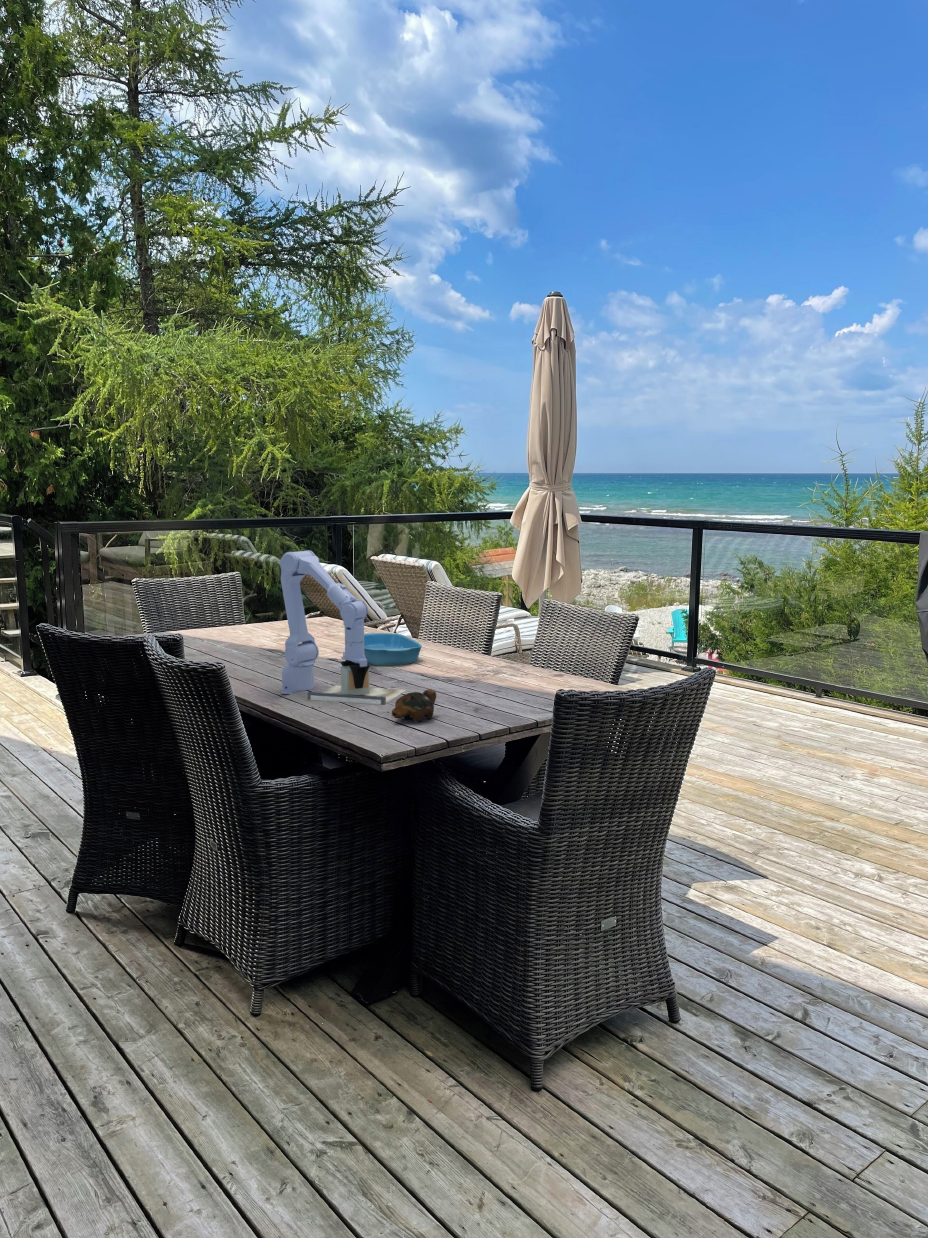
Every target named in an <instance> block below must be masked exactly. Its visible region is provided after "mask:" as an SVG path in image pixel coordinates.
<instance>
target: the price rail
mask: <svg viewBox="0 0 928 1238" xmlns="http://www.w3.org/2000/svg"><path fill="white" fill-rule="evenodd" d="M321 692H322V691H320V692H318V691H308V692H307V700H309V701H310V700H311V701H323V702H336V703H337V702H339V703H354V704H369V705H386V704H387V703H386V697H382V696H367V695H352V694H336V693H321Z"/></svg>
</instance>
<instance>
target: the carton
mask: <svg viewBox="0 0 928 1238" xmlns="http://www.w3.org/2000/svg"><path fill="white" fill-rule="evenodd" d="M340 686H341V693H343V694H352V695H362V694H369V688H370V668H369V669H368V671H367V673H366V676H365V679H364V684H363V688H358V689H356V688H355V685H354V678H353V674H352V671H351V668H350V666H342V665H341V666H340Z"/></svg>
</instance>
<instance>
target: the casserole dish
mask: <svg viewBox="0 0 928 1238" xmlns="http://www.w3.org/2000/svg"><path fill="white" fill-rule="evenodd" d="M422 648H423V647H422V644H421V643H420V642H417V641H416V640H414V639H413V638H410V637H408V636H406V635H404V634H401V633H388V632H387V633H386V632H385V633H384V632H368V633H364V655H365V658H366V660H367V664H370V665H371V666H378V667H383V666H396V665H398V666H399V665H410V664H414V662H416V661H417V659H418V658H419V655H420V652H421V649H422Z"/></svg>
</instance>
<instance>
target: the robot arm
mask: <svg viewBox="0 0 928 1238" xmlns="http://www.w3.org/2000/svg"><path fill="white" fill-rule="evenodd" d="M279 566H280V584H281V589H282V595H283V600H284V601H283V602H284V606H285V613H286V618H287V619H286V620H287V624H288V630H289V637H287V639H286V640H285V642H284V648H285V650H284V659H285V661H286V662H287V664H284V665H283V667H282V670H281V685H282V686H281V687H282V689H281V692H280V693H281V694H283V695H291V694H293V693H296V692H298V691H311V690H313V689H315V664H316V660H317V659H318V657H319V654H320V652H319V646H318V645H317V642H316V641H315V640H316V639H315V637H314V636H313V635H312V634H311V633H310V632H309V631H308V630H309V629H308V625H307V618H306V611H305V607H304V601H303V596H302V595H303V594H302V590H301V584H300V583H301V581H302V580H303V578H304V577H305V576H307V575H309V576H311V577H312V578H313V579H314V580H315V581H316V582H317V583H318V584H319V585H321V586H322V588H324V589H325V590H326V596H327V598H328V599H329V600H330V601H331V603H332V604H334V606H336V607H337V609H338V610H339V614H340V615H339V616H340V618H341V619H342V622H343V626H344V652H342V656H341V660H342V661H340V665H341V667H342V666H350V668H351V671H352V674H353V678H354V685H355V688H356V689H358V688H363V684H364V679H365V676H366V673H367V671H368V669H369V670H370V665H369V664H368V662H367V660H366V658H365V655H364V634H365V618H366V617H367V616H368V614H369V608H368V606H367V604H366V603H365V601H364V600H362V599H358V598H356V596H354V595H353V594H352V593H351V592H350V591H349V590H348V589H347V586H346V584H343V583H340V582H337V583H336V582H335V580H334V579H333V578H332V576H330V574H329V573H328V571H327V570H326V569H325V568H324V567H323V566H322V564H321V563H320V559H319V557H318V556H317V555H316V554H315V553H314V552H313V551H312V550H309V549H308V550H306V549H305V550H301V551H287V552H285V553H284V554H283V555H282V556H281V558H280V560H279Z"/></svg>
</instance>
